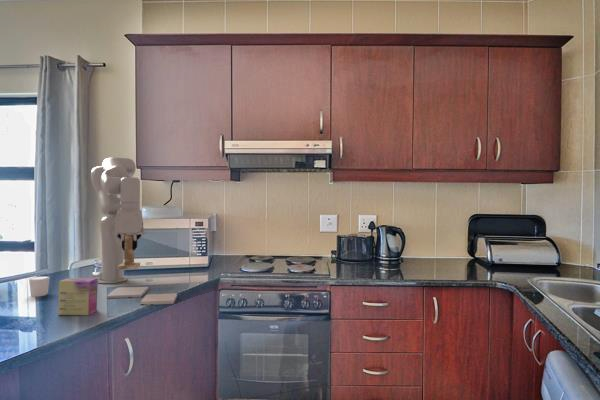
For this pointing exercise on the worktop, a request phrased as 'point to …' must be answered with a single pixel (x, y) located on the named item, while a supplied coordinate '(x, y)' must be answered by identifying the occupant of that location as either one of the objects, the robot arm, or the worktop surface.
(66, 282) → the box
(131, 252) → the masher
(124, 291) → the rest pad
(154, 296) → the tile
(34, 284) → the white cup
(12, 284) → the worktop surface
